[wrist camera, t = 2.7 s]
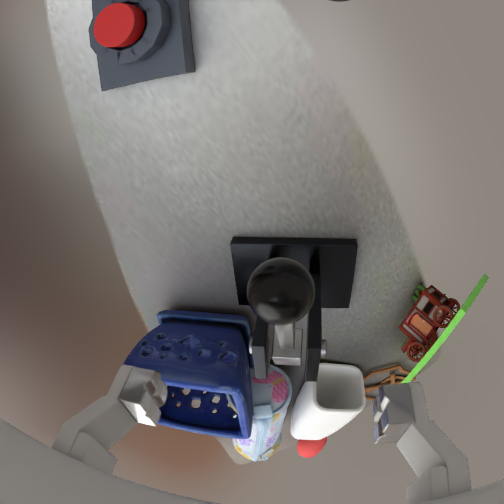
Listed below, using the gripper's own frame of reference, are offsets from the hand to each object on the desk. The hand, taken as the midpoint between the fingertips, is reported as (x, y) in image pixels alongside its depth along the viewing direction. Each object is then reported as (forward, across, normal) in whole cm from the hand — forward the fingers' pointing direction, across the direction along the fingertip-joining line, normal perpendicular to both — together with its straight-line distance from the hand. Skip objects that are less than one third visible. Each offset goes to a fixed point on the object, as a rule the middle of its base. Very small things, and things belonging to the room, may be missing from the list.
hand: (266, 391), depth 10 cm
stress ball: (+16, -7, +54) cm, 57 cm away
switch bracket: (+20, 0, +10) cm, 22 cm away
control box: (+20, +11, -15) cm, 28 cm away
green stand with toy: (+15, -17, +14) cm, 27 cm away
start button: (+16, +11, -15) cm, 25 cm away
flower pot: (+20, +10, +21) cm, 31 cm away
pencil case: (+20, +5, +34) cm, 40 cm away
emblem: (+19, -14, +31) cm, 39 cm away
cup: (+17, -3, +40) cm, 43 cm away
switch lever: (+9, 0, +4) cm, 10 cm away
